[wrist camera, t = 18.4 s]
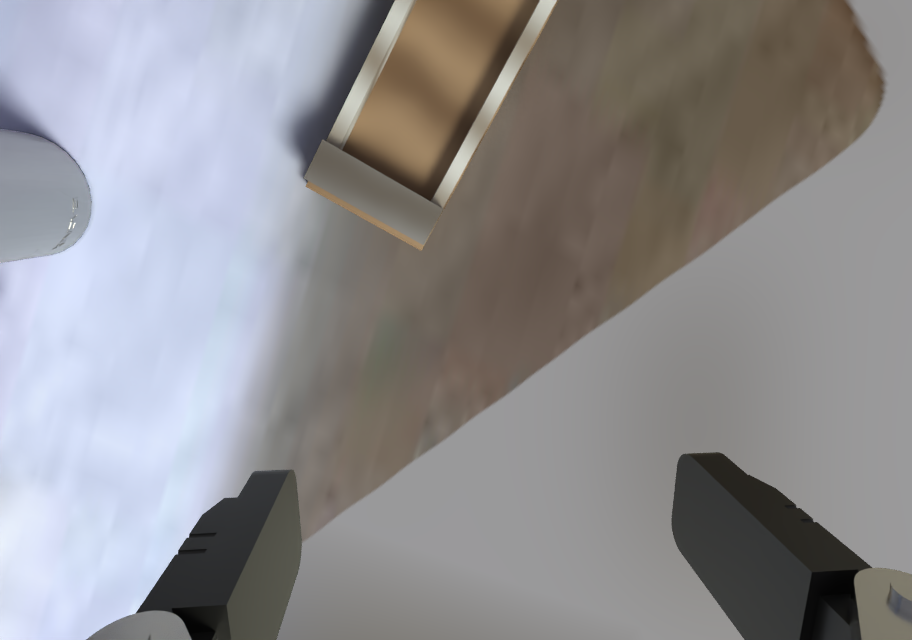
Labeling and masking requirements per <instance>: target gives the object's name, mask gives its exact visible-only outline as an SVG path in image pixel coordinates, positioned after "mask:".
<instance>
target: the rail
mask: <svg viewBox="0 0 912 640" xmlns="http://www.w3.org/2000/svg"><path fill="white" fill-rule="evenodd" d="M557 2H558V0H395V1H394V3H393V5H392V8H391V10H390V12H389V14H388V16H387V18H386V20H385V22H384V24H383V26H382V28H381V30H380V32H379V34H378V36H377V38H376V40H375V42H374V44H373V46H372V48H371V50H370V52H369V54H368V56H367V58H366V60H365V62H364V65H363V67H362V69H361V71H360V73H359V75H358V77H357V79H356V81H355V83H354V85H353V87H352V89H351V91H350V93H349V95H348V97H347V99H346V101H345V103H344V105H343V107H342V109H341V111H340V113H339V115H338V117H337V120H336V122H335V124H334V126H333V128H332V130H331V132H330V134H329V136H328V138H327V140H326V141H325V140H323V139H322V141H321V143H320V146H319V148H318V150H317V152H316V154H315V156H314V158H313V160H312V162H311V164H310V166H309V168H308V170H307V172H306V174H305V176H304V179H306V180H307V181H308V183H307V185H306V187H307V188H309V189H311V190H313V191H315V192H316V193H318V194H320V195H322V196H324V197H325V198H327V199H329V200H331V201H333V202H334V203H336V204H338V205H340V206H342V207H343V208H345V209H347V210H349V211H351V212H352V213H354V214H356V215H358V216H360V217H361V218H363V219H365V220H367V221H369V222H370V223H372V224H374V225H376V226H378V227H379V228H381V229H383V230H385V231H387V232H388V233H390V234H392V235H394V236H396V237H397V238H399V239H401V240H403V241H405V242H406V243H408V244H410V245H412V246H414V247H415V248H417V249H419V250H422V248H423V247H424V245H425V243H426V241H427V239H428V238H429V236H430V234H431V232H432V230H433V228H434V227H435V225H436V223H437V221H438V219H439V217H440V216H441V214H442V212H443V210H444V208H445V207H446V205H447V203H448V201H449V199H450V197H451V196H452V194H453V192H454V190H455V188H456V186H457V185H458V183H459V181H460V179H461V177H462V176H463V174H464V172H465V170H466V168H467V166H468V165H469V163H470V161H471V159H472V157H473V155H474V154H475V152H476V150H477V148H478V146H479V145H480V143H481V141H482V139H483V137H484V135H485V134H486V132H487V130H488V128H489V126H490V124H491V123H492V121H493V119H494V117H495V115H496V114H497V112H498V110H499V108H500V106H501V104H502V103H503V101H504V99H505V97H506V95H507V93H508V92H509V90H510V88H511V86H512V84H513V83H514V81H515V79H516V77H517V75H518V73H519V72H520V70H521V68H522V66H523V64H524V62H525V61H526V59H527V57H528V55H529V53H530V52H531V50H532V48H533V46H534V44H535V42H536V41H537V39H538V37H539V35H540V33H541V31H542V30H543V28H544V26H545V24H546V22H547V21H548V19H549V17H550V15H551V13H552V11H553V10H554V8H555V6H556V4H557Z"/></svg>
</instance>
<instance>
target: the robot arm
mask: <svg viewBox="0 0 912 640" xmlns="http://www.w3.org/2000/svg"><path fill="white" fill-rule="evenodd" d="M91 203H92V201H91V195H90V190H89V186H88V184H87V181H86V179H85V176H84V174H83V173H82V171H81V170H80V168H79V167H78V165H77V163H76V162H75V161H74V160H73V159H72V158H71V157H70V156H69V155H68V154H67V153H66V152H65V151H64V150H62V149H61V148H60V147H58V146H57V145H56V144H54V143H52V142H50V141H49V140H47V139H45V138H43V137H40V136H37V135H33V134H30V133H25V132H19V131H13V130H6V129H0V263H5V262H12V261H18V260H24V259H30V258H36V257H42V256H48V255H53V254H56V253H59V252H62V251H64V250H66V249H68V248H69V247H71V246H72V245H74V244H75V243H76V242H77V241H78V240H79V239H80V238H81V237H82V235H83V233H84V232H85V230H86V228H87V226H88V223H89V220H90V216H91ZM672 531H673V535H674V539H675V542H676V544H677V547H678V549H679V550H680V552H681V553H682V555H683V556H684V557H685V559H686V560H687V561H688V563H689V564H690V566H691V567H692V568H693V570H694V571H695V572H696V574H697V575H698V577H699V578H700V579H701V581H702V582H703V583H704V585H705V586H706V588H707V589H708V590H709V591H710V593H711V594H712V596H713V597H714V598H715V600H716V601H717V603H718V604H719V605H720V607H721V608H722V609H723V611H724V612H725V613H726V615H727V616H728V618H729V619H730V620H731V622H732V623H733V624H734V626H735V627H736V628H737V630H738V631H739V633H740V634H741V635H742V637H743V638H744V639H745V640H912V574H909V573H905V572H902V571H897V570H892V569H886V568H872V567H871V566H870V565H868V564H867V563H866V562H864V560H862V559H861V558H860V557H859V556H857V555H856V554H855V553H854V552H853V551H851V550H850V549H849V548H848V547H847V546H845V545H844V544H843V543H842V542H840V541H839V540H838V539H837V538H836V537H834V536H833V535H832V534H831V533H830V532H828V531H827V530H826V529H825V528H823V527H822V526H821V525H820V524H819V523H817V522H813V519H812V518H811V517H810V516H809V515H808V514H806V513H805V512H804V511H803V510H802V509H800V508H796V505H795V504H794V503H793V502H792V501H790V500H789V499H788V498H787V497H786V496H785V495H783V494H782V493H781V492H779V491H778V490H777V489H776V488H774V487H772V486H770V485H768V484H766V483H764V482H762V481H760V480H758V479H756V478H754V477H752V476H750V475H747V474H746V473H745V472H744V471H742V470H741V469H740V468H739V467H737V465H735V464H734V463H733V462H732V461H731V460H730V459H728V458H727V457H726V456H725V455H724V454H722V453H718V452H716V453H692V454H683V455H681V457H680V458H679V461H678V464H677V473H676V483H675V492H674V501H673V511H672ZM301 547H302V538H301V526H300V515H299V504H298V493H297V482H296V476H295V473H294V471H293V470H271V471H255V472H253V473H252V475H251V476H250V478H249V480H248V481H247V483H246V485H245V486H244V488H243V490H242V491H241V493H240V495H239V496H238V498H224V499H223V500H221V501H220V502H219V503H217V504H216V505H215V506H213V507H212V508H211V509H210V510H208V511H207V512H206V513H204V514H203V515H202V516H201V518H200V519H199V521H198V522H197V524H196V525H195V527H194V528H193V530H192V531H191V533H190V534H189V538H186V540H185V541H184V543H183V544H182V546H181V547H180V549H179V550H178V555H175V556H174V558H173V559H172V561H171V562H170V564H169V565H168V567H167V568H166V570H165V571H164V572H163V574H162V575H161V577H160V578H159V580H158V581H157V583H156V584H155V586H154V587H153V589H152V590H151V592H150V593H149V595H148V596H147V598H146V599H145V601H144V602H143V604H142V605H141V606H140V608H139V609H138V611H137V612H136V614H133V615H130V616H127V617H124V618H122V619H119V620H117V621H115V622H113V623H111V624H109V625H107V626H105V627H104V628H102V629H100V630H99V631H97V632H96V633H94V634H93V635H92V636H90V637H89V638H88V639H87V640H276V639H277V636H278V633H279V630H280V626H281V624H282V620H283V617H284V614H285V611H286V607H287V605H288V602H289V599H290V595H291V592H292V589H293V586H294V583H295V580H296V577H297V574H298V570H299V566H300V558H301Z"/></svg>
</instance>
